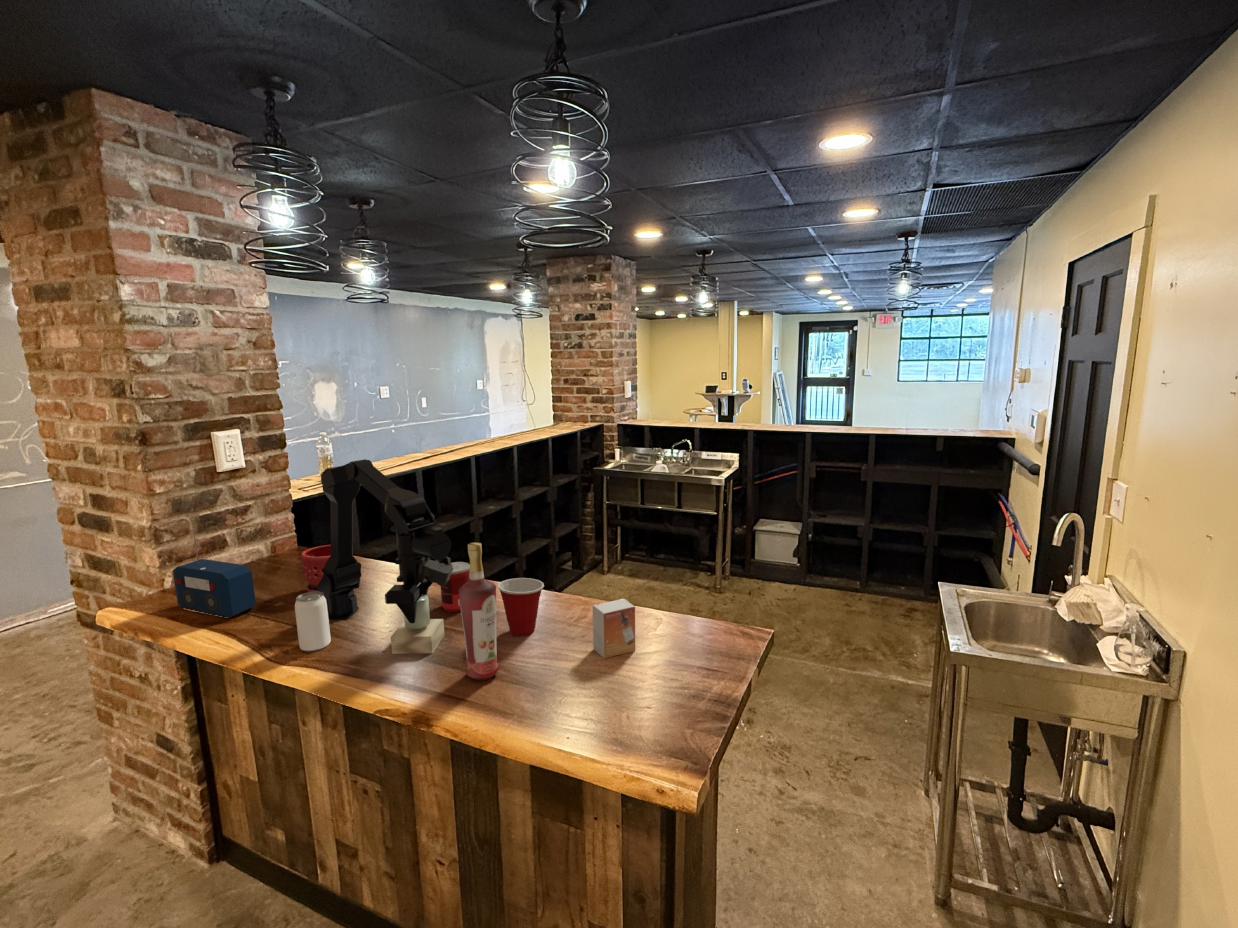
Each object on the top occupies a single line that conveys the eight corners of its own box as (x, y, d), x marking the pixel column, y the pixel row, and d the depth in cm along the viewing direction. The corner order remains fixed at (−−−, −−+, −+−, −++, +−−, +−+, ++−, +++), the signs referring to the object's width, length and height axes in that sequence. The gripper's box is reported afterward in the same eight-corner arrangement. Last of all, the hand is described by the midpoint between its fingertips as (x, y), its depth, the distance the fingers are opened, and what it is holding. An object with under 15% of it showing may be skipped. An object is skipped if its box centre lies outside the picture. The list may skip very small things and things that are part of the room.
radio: (173, 611, 158) (161, 538, 154) (205, 598, 166) (195, 529, 162) (228, 622, 150) (217, 546, 147) (259, 608, 158) (250, 536, 155)
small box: (603, 659, 128) (602, 613, 126) (592, 648, 133) (591, 604, 131) (636, 650, 131) (635, 606, 130) (624, 640, 136) (623, 597, 135)
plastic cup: (555, 629, 142) (553, 582, 140) (519, 646, 135) (516, 595, 133) (527, 617, 150) (524, 571, 148) (491, 631, 142) (488, 584, 140)
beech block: (392, 653, 132) (390, 636, 132) (406, 635, 141) (405, 619, 140) (432, 653, 132) (431, 636, 131) (444, 634, 141) (443, 618, 140)
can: (337, 640, 139) (332, 592, 137) (315, 653, 133) (309, 603, 131) (315, 637, 141) (310, 589, 139) (293, 649, 135) (286, 599, 133)
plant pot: (343, 598, 164) (338, 556, 162) (296, 599, 164) (291, 557, 162) (363, 581, 177) (360, 542, 175) (320, 581, 177) (315, 543, 175)
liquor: (483, 688, 118) (474, 552, 113) (457, 678, 121) (447, 546, 117) (508, 671, 124) (501, 542, 119) (482, 662, 128) (474, 537, 123)
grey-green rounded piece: (401, 629, 133) (398, 603, 132) (409, 618, 139) (407, 594, 137) (425, 628, 133) (423, 603, 132) (433, 618, 138) (431, 593, 137)
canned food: (476, 600, 161) (474, 561, 159) (466, 613, 153) (463, 572, 151) (449, 599, 162) (446, 561, 160) (437, 612, 154) (434, 571, 152)
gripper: (434, 565, 123) (439, 635, 126) (458, 538, 142) (463, 600, 145) (380, 566, 124) (387, 636, 126) (412, 539, 142) (417, 601, 145)
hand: (416, 617), depth 135 cm, fingers closed on grey-green rounded piece, 5 cm apart
